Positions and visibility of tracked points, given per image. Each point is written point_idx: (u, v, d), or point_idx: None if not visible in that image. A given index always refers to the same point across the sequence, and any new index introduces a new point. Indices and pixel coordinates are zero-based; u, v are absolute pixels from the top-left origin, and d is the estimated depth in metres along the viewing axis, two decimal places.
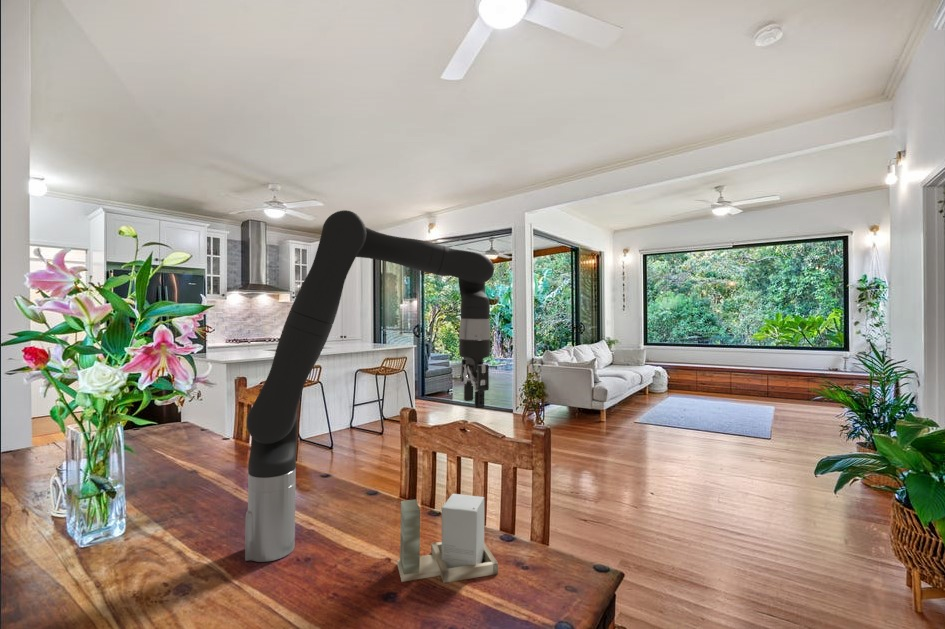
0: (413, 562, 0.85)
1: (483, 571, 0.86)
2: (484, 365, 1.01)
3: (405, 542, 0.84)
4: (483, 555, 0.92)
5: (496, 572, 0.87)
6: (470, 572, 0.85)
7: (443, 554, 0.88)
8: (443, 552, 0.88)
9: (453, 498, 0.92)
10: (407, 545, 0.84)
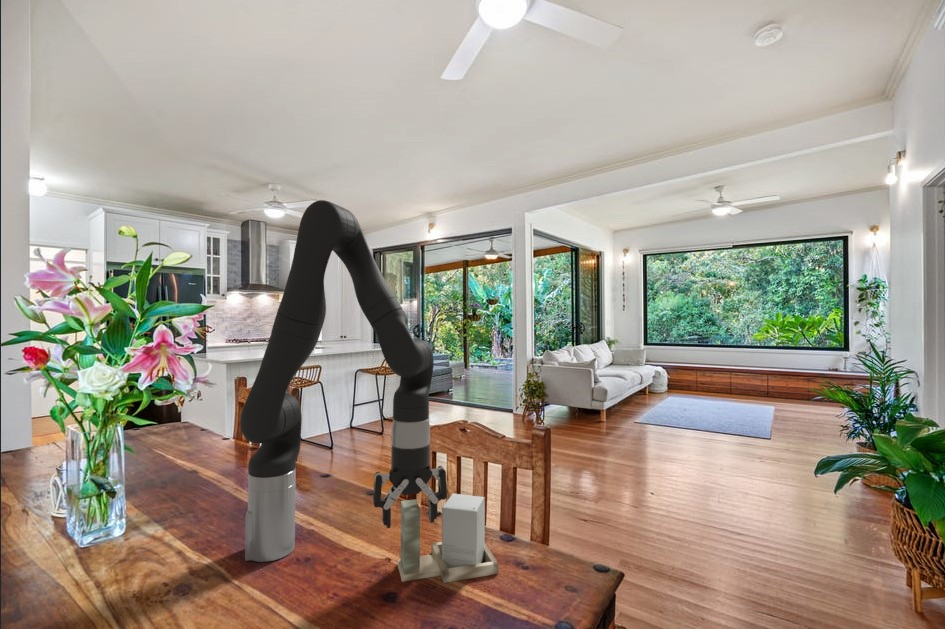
0: (414, 561, 0.85)
1: (483, 571, 0.86)
2: (443, 468, 0.89)
3: (405, 542, 0.84)
4: (483, 555, 0.92)
5: (496, 572, 0.87)
6: (470, 572, 0.85)
7: (443, 554, 0.88)
8: (443, 552, 0.88)
9: (453, 498, 0.92)
10: (407, 545, 0.85)
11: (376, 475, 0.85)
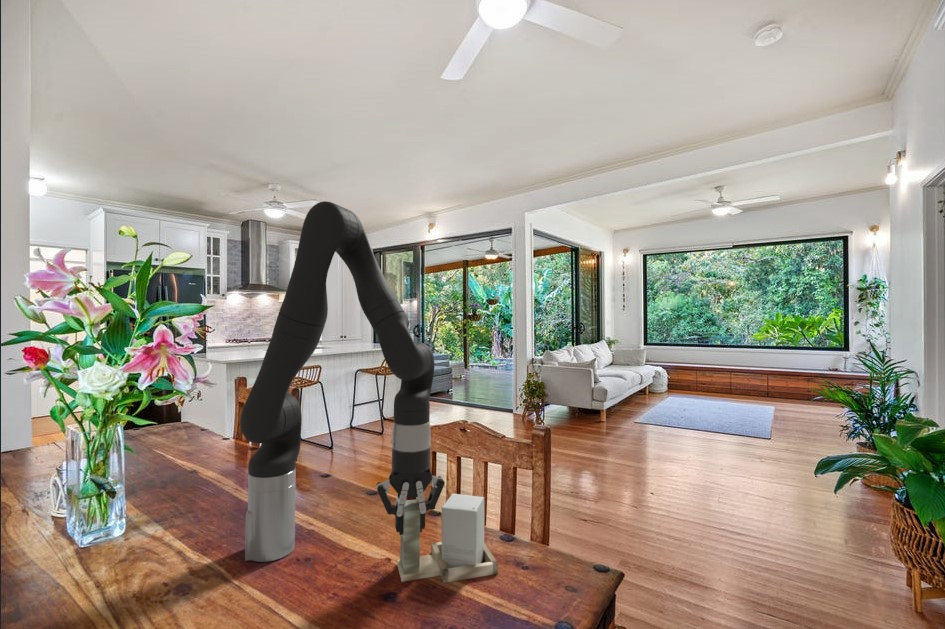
0: (413, 562, 0.85)
1: (483, 571, 0.86)
2: None
3: (405, 542, 0.84)
4: (483, 555, 0.92)
5: (496, 572, 0.87)
6: (470, 572, 0.85)
7: (443, 554, 0.88)
8: (443, 552, 0.88)
9: (453, 498, 0.92)
10: (407, 545, 0.84)
11: (377, 487, 0.85)
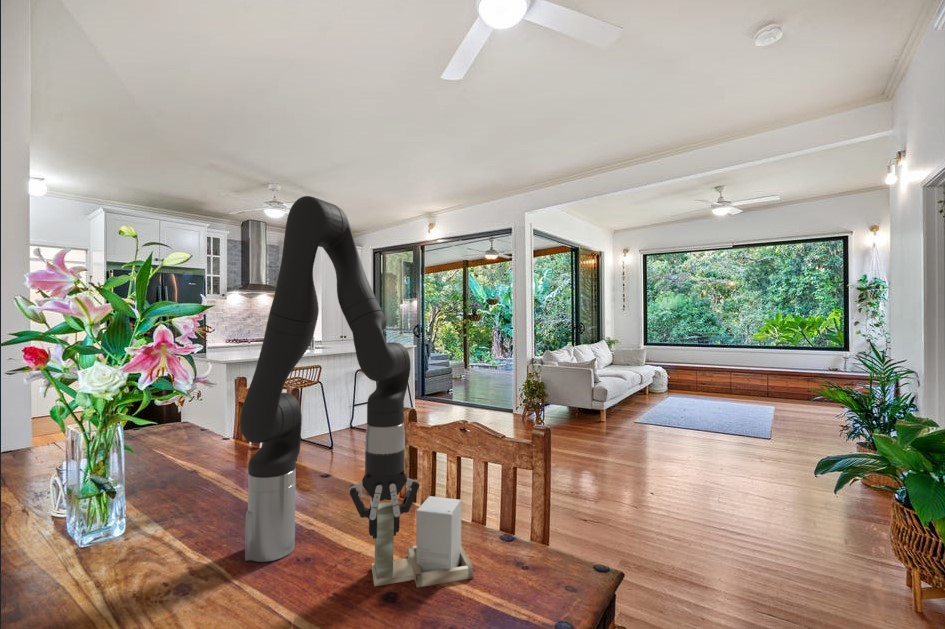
0: (387, 566, 0.83)
1: (458, 575, 0.84)
2: None
3: (378, 546, 0.83)
4: None
5: (471, 576, 0.85)
6: (444, 576, 0.84)
7: (418, 558, 0.86)
8: (418, 556, 0.86)
9: (429, 501, 0.90)
10: (380, 549, 0.83)
11: (349, 489, 0.83)
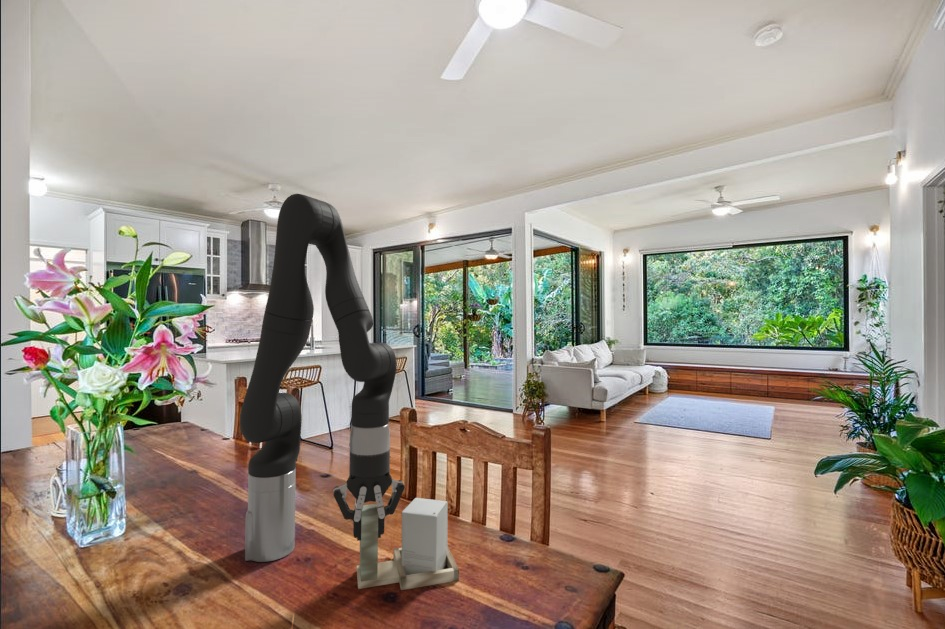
0: (371, 568, 0.83)
1: (443, 578, 0.84)
2: None
3: (362, 548, 0.82)
4: (446, 561, 0.90)
5: (457, 579, 0.84)
6: (429, 579, 0.83)
7: (403, 560, 0.85)
8: (403, 558, 0.85)
9: (415, 502, 0.90)
10: (364, 551, 0.82)
11: None
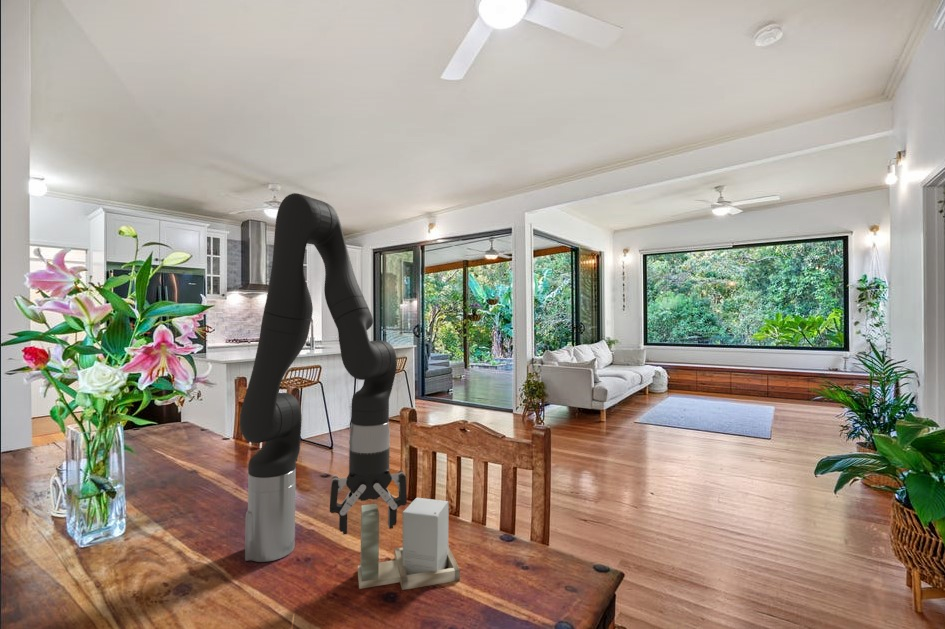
0: (372, 568, 0.83)
1: (444, 578, 0.84)
2: (403, 473, 0.87)
3: (363, 548, 0.82)
4: None
5: (458, 578, 0.84)
6: (430, 579, 0.83)
7: (404, 560, 0.85)
8: (404, 558, 0.85)
9: (416, 502, 0.90)
10: (365, 551, 0.82)
11: (332, 480, 0.83)
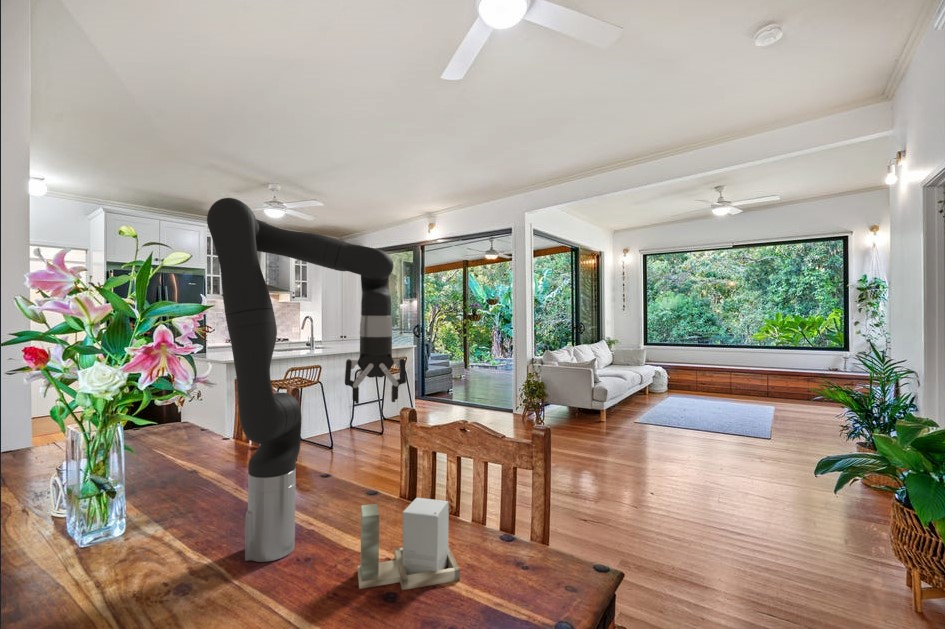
0: (372, 568, 0.83)
1: (444, 578, 0.84)
2: None
3: (363, 548, 0.82)
4: None
5: (458, 578, 0.84)
6: (430, 579, 0.83)
7: (404, 560, 0.85)
8: (404, 558, 0.85)
9: (416, 502, 0.90)
10: (365, 551, 0.82)
11: (347, 360, 1.04)
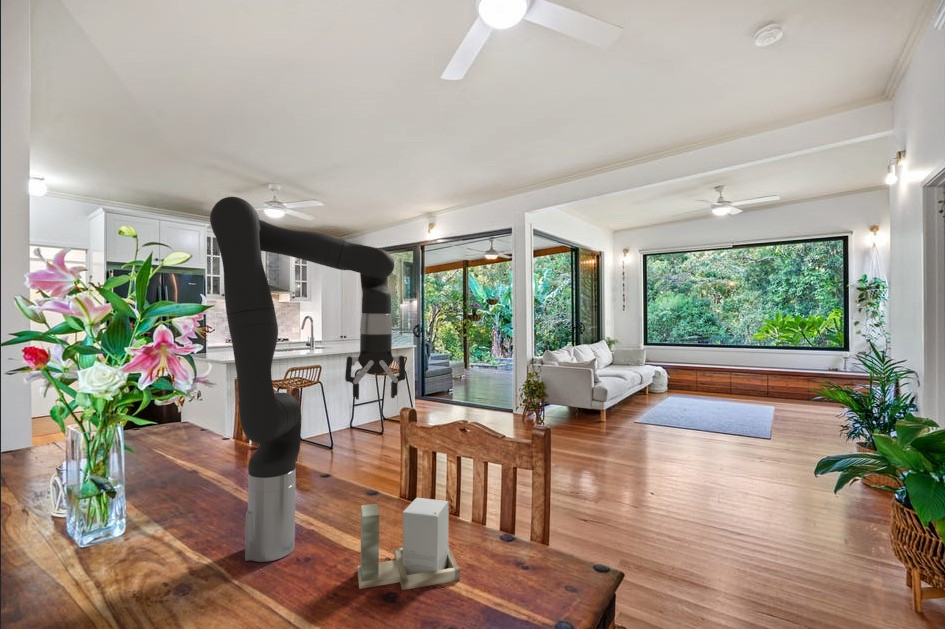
0: (372, 568, 0.83)
1: (444, 578, 0.84)
2: None
3: (363, 548, 0.82)
4: None
5: (458, 578, 0.84)
6: (430, 579, 0.83)
7: (404, 560, 0.85)
8: (404, 558, 0.85)
9: (416, 502, 0.90)
10: (365, 551, 0.82)
11: (347, 357, 1.06)
